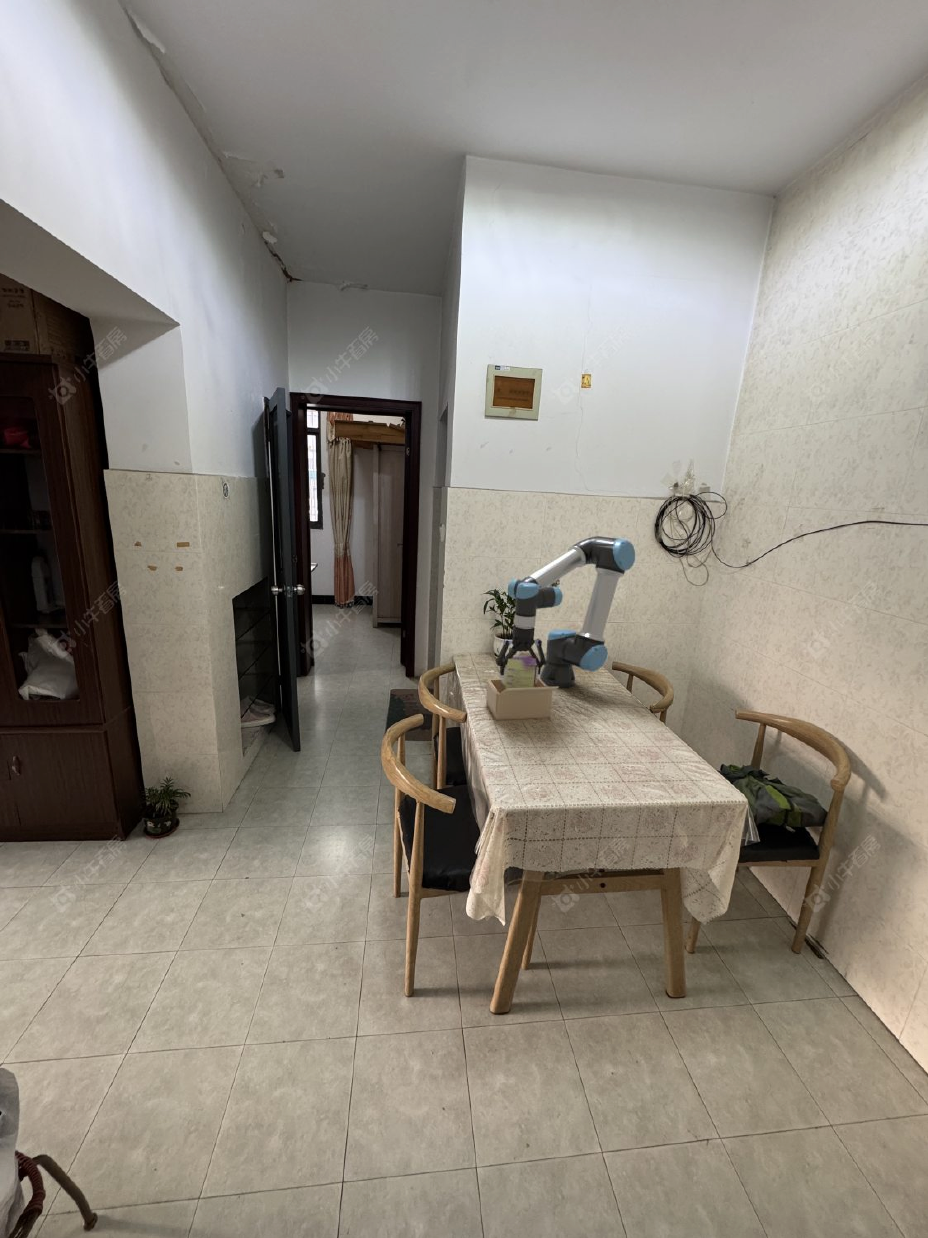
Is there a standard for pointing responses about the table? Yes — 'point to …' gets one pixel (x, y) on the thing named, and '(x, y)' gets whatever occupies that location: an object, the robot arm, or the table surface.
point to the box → (520, 672)
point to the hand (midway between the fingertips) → (519, 682)
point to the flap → (529, 689)
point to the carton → (517, 702)
